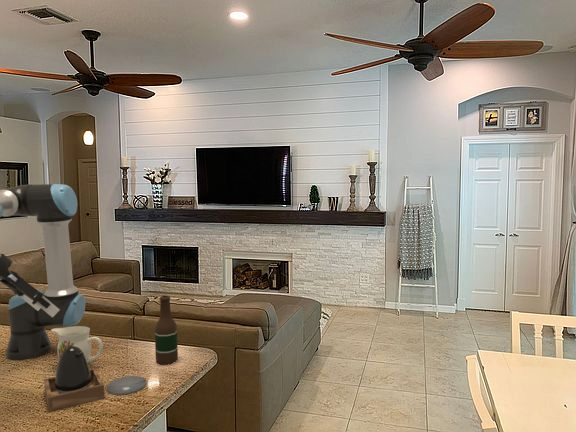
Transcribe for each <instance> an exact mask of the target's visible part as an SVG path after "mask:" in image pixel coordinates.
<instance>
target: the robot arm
mask: <svg viewBox="0 0 576 432" xmlns="http://www.w3.org/2000/svg"><path fill="white" fill-rule="evenodd" d="M77 211H78V198H77V195H76V193H75V192H74V190H73V188H72V187H71V186H69V185H68V184H60V183H59V184H58V183H47V184H46V183H42V184H31V183H30V184H22V185H17V186H13V187H8V188H4V189H0V218H1V217H11V216H12V217H13V216H20V217H22V216H23V217H24V216H25V217H36V222H37V223H38V224H39V225H40V226H41V227H42V236H43V247H44V258H45V269H46V279H47V289H46V290H45V292H44V291H43V290H42V289H40V290H38V289H37V288H36V287H34V286H33V285H31V284H30V283H28V282H27V281H26V280H25V279H24V278H23V277H21V276H20V275H19V274H18V272H16V271H13V270H11V271H10V270H9V268H10V267H11V266H12V264H13V261H12V260H11V259H10V258H9V257H8V256H7V255H5V254H4V253H0V283H2V284H3V285H5V286H6V287H7V288H8V289H10V290H11V291H12V293H14V294H15V295H13V296H12V297H11V298H9V300H8V314H9V315H8V317H9V330H10V331H9V332H10V337H9V340H8V342H7V343H8V344H7V347H6V351H5V352H6V353H5V354H6V355H5V356H6V358H7V359H9V360H14V361H18V360H19V361H20V360H29V359H34V358H38V357H40V356H43V355H46V354H48V353H50V351H52V341H51V339H50V337H49V335H48V333H47V331H46V327H73V326H77V325H78V324H79V323H80V322H81V320H82V319H83V316H84V314H85V310H86V305H87V304H86V303H87V302H86V297H85V295H83V294H80V293H79V288H78V287H77V286H75V285H74V277H73V268H72V267H73V266H72V254H71V244H70V243H71V241H70V231H69V223H70V222H72V220H73V216H75V215H76V213H77Z"/></svg>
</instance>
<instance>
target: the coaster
mask: <svg viewBox="0 0 576 432" xmlns="http://www.w3.org/2000/svg"><path fill="white" fill-rule="evenodd" d="M146 386H147V378H145V377H143V376H139V375H126V376H121V377H118V378H115V379H113V380H111V381H109V382H108V384H106V392H107V393H108V394H110V395H116V396H124V395H125V396H126V395H131V394H134V393H137V392H139V391H141V390H143V389H144V388H146Z"/></svg>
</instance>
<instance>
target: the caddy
mask: <svg viewBox="0 0 576 432" xmlns="http://www.w3.org/2000/svg"><path fill="white" fill-rule="evenodd" d="M90 373H91V382H90V383H93V386H89V387H88V388H84V389H80V390H75V391H71V392H67V393H62V394H58V393H57V394H54V395H52V392H54V391H57V389H56V388H55V376H52V377H48V378H44V381H43V382H44V393H45V399H46V404H47V408H48V412H53V411H57V410H62V409H65V408H70V407H74V406H77V405H81V404H86V403H89V402H93V401H97V400H102V399H105V384H104V382H103V381H102V379H101V378H102V377H101V375H100V374H99V373H98V370H97V368H95V367H94V368H90Z"/></svg>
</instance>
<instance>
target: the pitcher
mask: <svg viewBox="0 0 576 432" xmlns="http://www.w3.org/2000/svg"><path fill="white" fill-rule="evenodd" d="M50 330H51V332H53V333H54V334H55V335H56V336H57V338H58V342H57V352H56V353H57V356H58V360H59V359H60V357H61V355H62V353H63V351H64V350H65V349H66V348H68V347H70V346H76V347H79V348H80V349H81V350H82V352H83V353H84V355H85V357H86V359H87V362H88V363H90V362H93V361H96V360H97V359H99V357H100V356H101V355H102V353H103V351H104V344H103V342H102V339H101V338H99V337H98V336H91V337H90V332H91V328H90V327H88V326H84V325H82V326H81V325H79V326H78V325H72V326H64V327H56V328H52V329H50ZM92 341H94V342H95V341H96V342H97V345H98V352H97V354H95V355H94V356H92V347H93V345H92Z"/></svg>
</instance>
